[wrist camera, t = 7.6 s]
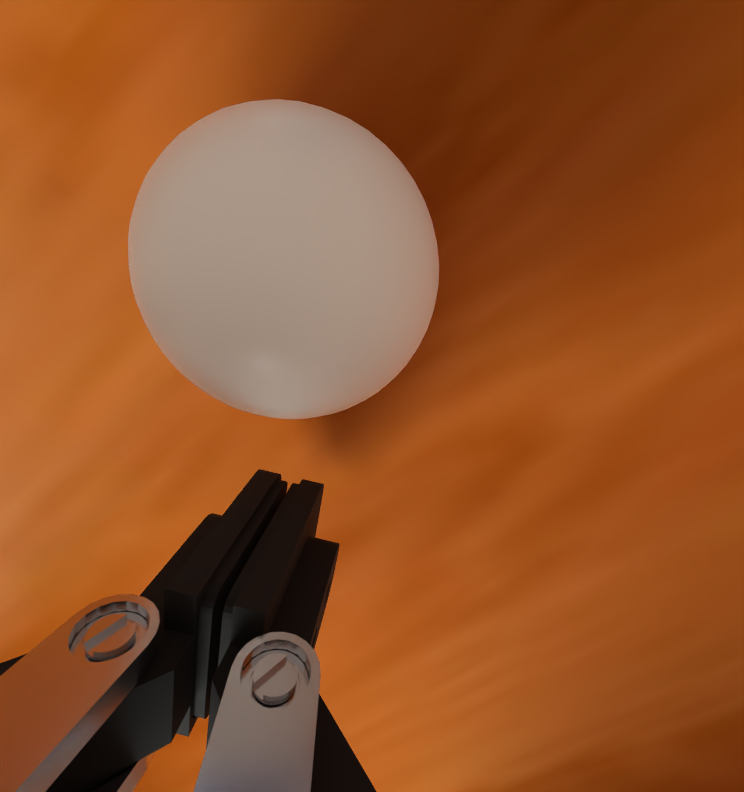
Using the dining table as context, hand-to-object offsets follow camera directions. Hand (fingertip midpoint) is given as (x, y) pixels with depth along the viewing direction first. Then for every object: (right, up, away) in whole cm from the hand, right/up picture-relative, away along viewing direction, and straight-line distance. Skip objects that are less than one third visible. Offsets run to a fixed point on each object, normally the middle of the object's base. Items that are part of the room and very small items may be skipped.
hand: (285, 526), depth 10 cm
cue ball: (+1, +6, -2) cm, 6 cm away
